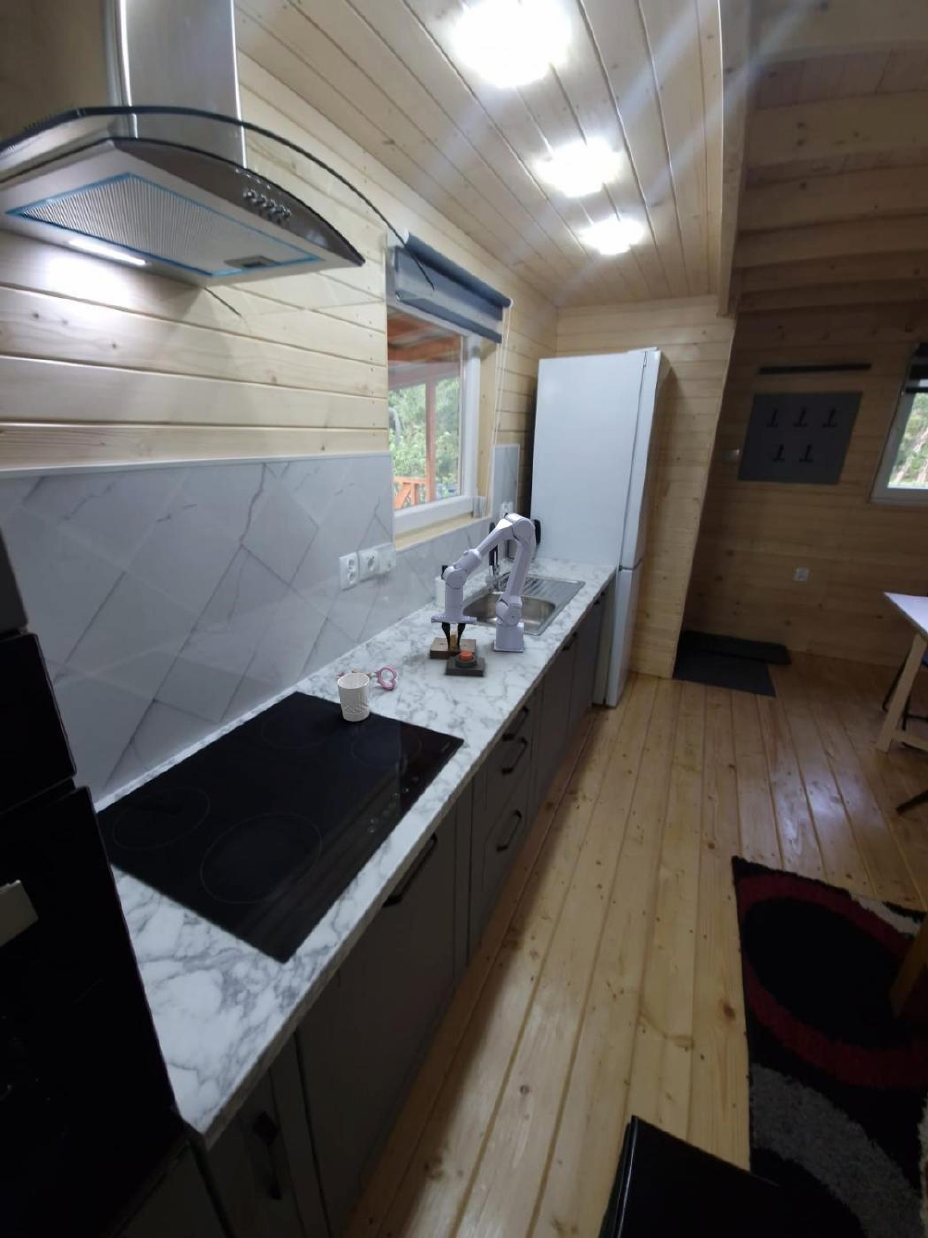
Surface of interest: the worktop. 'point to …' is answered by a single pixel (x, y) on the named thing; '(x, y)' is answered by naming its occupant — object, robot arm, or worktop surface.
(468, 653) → the bell button
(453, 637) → the lock knob
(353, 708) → the white cup
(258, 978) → the worktop surface
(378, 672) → the decorative key
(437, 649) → the plate
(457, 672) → the doorbell
